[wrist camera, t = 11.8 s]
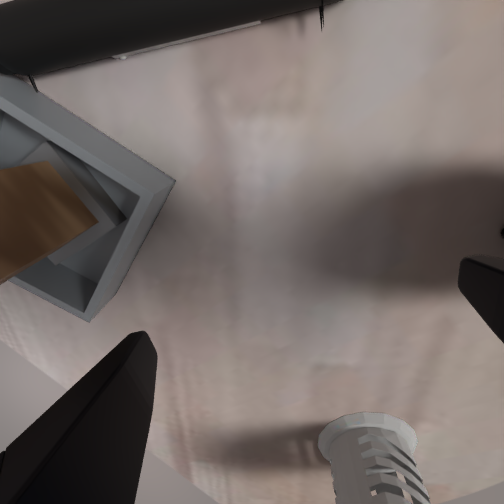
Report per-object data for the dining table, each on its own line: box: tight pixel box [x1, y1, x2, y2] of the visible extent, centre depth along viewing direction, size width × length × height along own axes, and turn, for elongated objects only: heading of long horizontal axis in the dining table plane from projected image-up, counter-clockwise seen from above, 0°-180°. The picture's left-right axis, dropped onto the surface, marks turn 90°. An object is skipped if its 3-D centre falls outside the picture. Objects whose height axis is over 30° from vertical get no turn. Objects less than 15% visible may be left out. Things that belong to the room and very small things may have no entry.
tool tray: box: [0, 73, 176, 323], centre depth 18 cm, size 11×11×4 cm
